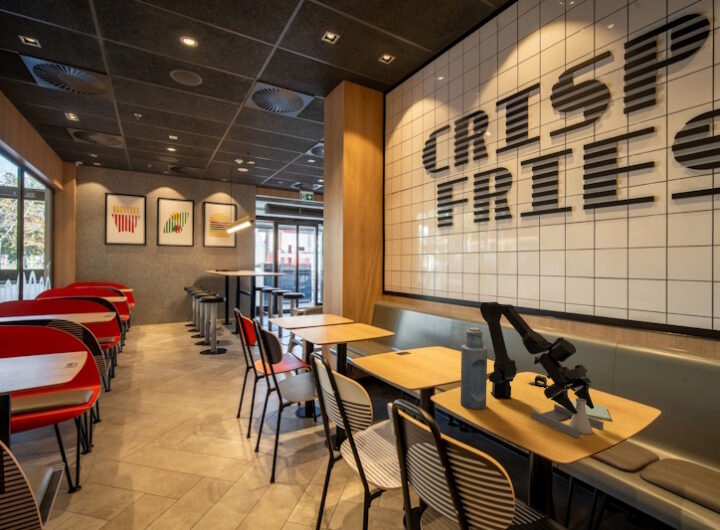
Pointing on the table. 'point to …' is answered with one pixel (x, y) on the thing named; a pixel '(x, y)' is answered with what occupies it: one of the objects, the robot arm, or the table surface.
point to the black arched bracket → (541, 379)
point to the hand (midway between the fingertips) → (584, 411)
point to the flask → (581, 418)
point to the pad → (596, 411)
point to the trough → (559, 415)
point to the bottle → (473, 370)
